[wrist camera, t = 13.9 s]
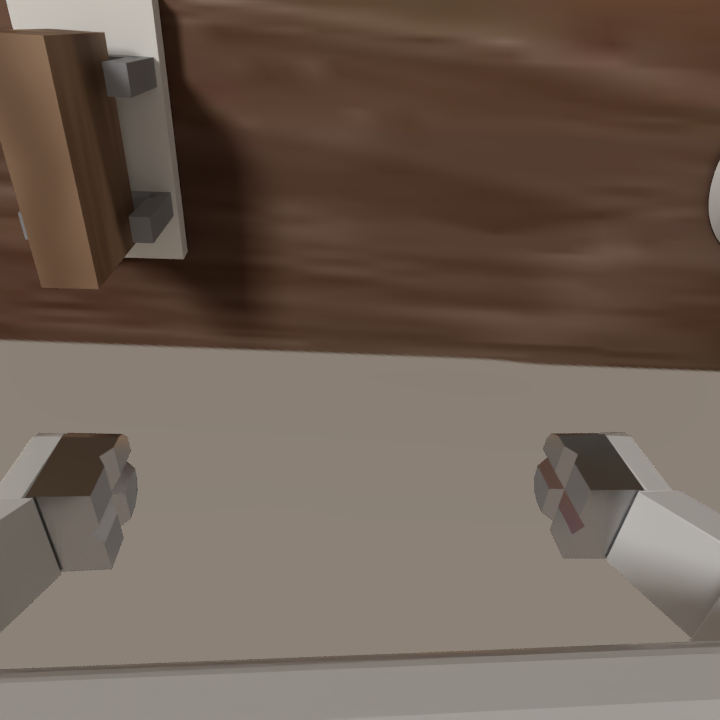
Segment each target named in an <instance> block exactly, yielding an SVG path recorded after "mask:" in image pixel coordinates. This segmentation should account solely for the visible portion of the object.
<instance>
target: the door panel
mask: <svg viewBox="0 0 720 720" xmlns="http://www.w3.org/2000/svg"><path fill="white" fill-rule="evenodd" d="M108 60H109V56H108V50H107V44H106V38H105V32H91V31H77V30H62V29H13V30H0V141H1V144H2V148H3V152H4V155H5V159H6V162H7V166H8V169H9V173H10V176H11V180H12V183H13V187H14V191H15V194H16V198H17V201H18V205H19V208H20V212H21V215H22V219H23V223H24V226H25V230H26V233H27V237H28V240H29V244H30V247H31V251H32V254H33V258H34V262H35V265H36V269H37V272H38V276H39V279H40V283H41V286H42V288H79V289H99V288H100V287H101V286H102V284H103V283H104V282H105V281H106V279H107V278H108V277H109V276H110V275H111V273H112V272H113V271H114V270H115V268H116V267H117V266H118V265H119V263H120V262H121V261H122V260H123V258H124V257H125V256H126V255H127V253H128V252H129V251H130V250H131V249H132V247H133V246H134V245H135V244H136V243H133V239H132V233H131V227H130V222H129V216H130V215H131V214H132V213H133V212H134V206H133V200H132V194H131V188H130V182H129V176H128V170H127V164H126V158H125V152H124V146H123V140H122V134H121V128H120V122H119V116H118V110H117V104H116V98H115V97H108V95H107V89H106V83H105V78H104V72H103V66H102V62H103V61H108Z"/></svg>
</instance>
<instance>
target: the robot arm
mask: <svg viewBox="0 0 720 720" xmlns="http://www.w3.org/2000/svg"><path fill="white" fill-rule="evenodd" d="M709 217H710V222H711V226H712V229H713V232H714V234H715V236H716V237H717V239H718V241H719V242H720V161H719V163H718V165H717V168H716V171H715V173H714V177H713V180H712V184H711V188H710V194H709ZM543 450H544V452H545V454H546V456H547V458H546V459H545V460H544V461H543V462H541V463H540V464H539V465H538V466H537V470H536V474H535V477H534V488H535V489H534V491H535V495H536V500H537V503H538V505H539V507H540V510H541V512H542V513H543V514H545V515H546V516H548V517H549V518H550V519H551V520H553V523H552V525H551V528H550V531H551V533H552V536H553V538H554V540H555V542H556V544H557V546H558V548H559V550H560V553H561V555H562V557H563V558H607V559H606V561H607V562H608V563H609V564H610V565H611V566H612V567H613V568H614V569H615V570H617V571H618V572H619V573H620V574H621V575H622V576H623V577H625V579H627V580H628V581H629V582H630V583H631V584H632V585H633V586H634V587H635V588H637V589H638V590H639V591H640V592H641V593H642V594H643V595H644V596H645V597H647V598H648V599H649V600H650V601H651V602H652V603H653V604H654V605H655V606H656V607H658V608H659V609H660V610H661V611H662V612H663V613H664V614H665V615H666V616H668V617H669V618H670V619H671V620H672V621H673V622H674V623H675V624H676V625H678V626H679V627H680V628H681V629H682V630H683V631H684V632H685V633H686V634H687V635H689V636H690V637H691V639H690V641H689V642H670V643H647V644H646V643H645V644H619V645H594V646H570V647H547V648H524V649H501V650H478V651H477V650H475V651H454V652H453V651H451V652H427V653H401V654H376V655H352V656H351V655H350V656H324V657H298V658H275V659H274V658H273V659H247V660H223V661H199V662H174V663H149V664H124V665H98V666H76V667H75V666H73V667H49V668H24V669H0V720H720V513H718V512H716V511H715V510H713V509H711V508H710V507H708V506H706V505H704V504H703V503H701V502H699V501H698V500H696V499H694V498H692V497H691V496H689V495H687V494H686V493H684V492H682V491H673V490H672V489H671V488H670V486H669V485H668V484H667V482H666V481H665V480H664V478H663V477H662V476H661V475H660V473H659V472H658V471H657V469H656V468H655V467H654V466H653V464H652V463H651V462H650V460H649V459H648V458H647V457H646V455H645V454H644V453H643V451H642V450H641V449H640V448H639V446H638V445H637V444H636V442H635V441H634V440H633V438H632V437H631V436H630V435H628V434H626V433H625V432H614V433H613V432H611V433H599V434H598V433H586V434H585V433H580V434H579V433H572V434H550V435H549V437H548V438H547V439H546V442H545V445H544V448H543ZM130 452H131V449H130V445H129V441H128V438H127V436H125V435H123V434H95V433H94V434H93V433H67V434H65V433H38V434H37V435H35V436H33V437H32V438H31V439H30V440H29V442H28V443H27V445H26V446H25V448H24V449H23V451H22V452H21V454H20V455H19V456H18V458H17V459H16V461H15V462H14V464H13V465H12V467H11V468H10V469H9V471H8V472H7V474H6V475H5V477H4V478H3V480H2V481H1V483H0V632H1V631H2V630H4V629H5V628H6V626H8V625H9V624H10V623H11V622H12V621H13V620H14V619H15V618H16V617H17V616H18V615H19V614H20V613H21V612H22V611H23V610H25V608H27V607H28V606H29V605H30V604H31V603H32V602H33V601H34V600H35V599H36V598H37V597H38V596H39V595H40V594H41V593H42V592H43V591H45V590H46V589H47V588H48V587H49V586H50V585H51V584H52V583H53V582H54V581H55V580H56V579H57V578H58V577H59V576H60V575H61V572H65V571H83V570H104V569H112V567H113V565H114V562H115V559H116V557H117V554H118V551H119V549H120V546H121V544H122V541H123V534H122V530H121V526H122V525H123V524H124V523H126V522H127V521H128V520H129V519H131V517H132V514H133V511H134V508H135V504H136V498H137V491H138V489H137V476H136V471H135V468H134V467H133V466H131V465H130V464H129V463H128V462H127V459H128V457H129V454H130Z"/></svg>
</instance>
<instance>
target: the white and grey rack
mask: <svg viewBox="0 0 720 720" xmlns="http://www.w3.org/2000/svg"><path fill="white" fill-rule="evenodd" d="M6 2H7V6H8V10H9V14H10V18H11V22H12V26H13V29H62V30H77V31H91V32H105V38H106V44H107V50H108V56H109V60H108V61H103V62H102V66H103V72H104V78H105V83H106V89H107V95H108V97H115V98H116V104H117V110H118V116H119V122H120V128H121V134H122V140H123V146H124V152H125V158H126V164H127V170H128V176H129V182H130V188H131V194H132V200H133V206H134V212H133V213H132V214H131V215H130V216H129V222H130V227H131V233H132V239H133V243H136V244H135V245H134V246H133V247H132V249H131V250H130V251H129V252H128V253H127V255H126V256H125V257H124V258H157V259H184V258H185V256H186V254H187V252H188V250H187V242H186V233H185V225H184V216H183V208H182V199H181V191H180V182H179V174H178V165H177V157H176V148H175V140H174V131H173V123H172V114H171V106H170V97H169V89H168V80H167V72H166V63H165V55H164V46H163V38H162V29H161V21H160V12H159V4H158V0H6ZM18 215H19V219H20V222H21V226H22V229H23V233H24V236H25V239H28V237H27V233H26V230H25V226H24V223H23V219H22V215H21V212H18Z"/></svg>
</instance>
